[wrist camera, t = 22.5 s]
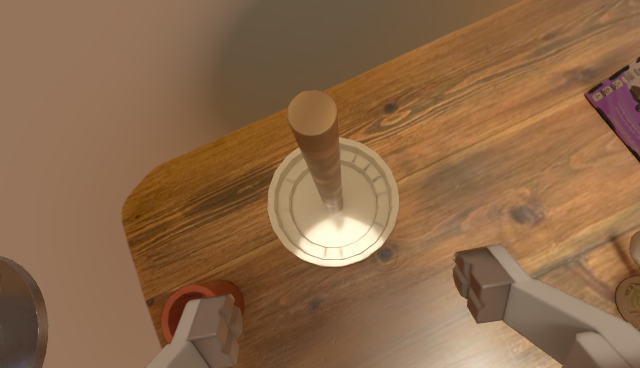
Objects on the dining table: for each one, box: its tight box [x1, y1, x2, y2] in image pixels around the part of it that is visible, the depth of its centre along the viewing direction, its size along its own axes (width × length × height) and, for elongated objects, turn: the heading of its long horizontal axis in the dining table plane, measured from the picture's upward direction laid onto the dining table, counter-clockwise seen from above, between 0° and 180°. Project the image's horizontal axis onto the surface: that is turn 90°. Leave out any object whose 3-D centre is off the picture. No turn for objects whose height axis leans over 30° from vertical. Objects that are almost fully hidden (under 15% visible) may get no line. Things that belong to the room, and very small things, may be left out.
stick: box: [287, 90, 343, 214], centre depth 26 cm, size 2×2×26 cm
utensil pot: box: [161, 280, 244, 344], centre depth 35 cm, size 7×7×7 cm
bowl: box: [268, 137, 399, 267], centre depth 37 cm, size 16×16×5 cm
